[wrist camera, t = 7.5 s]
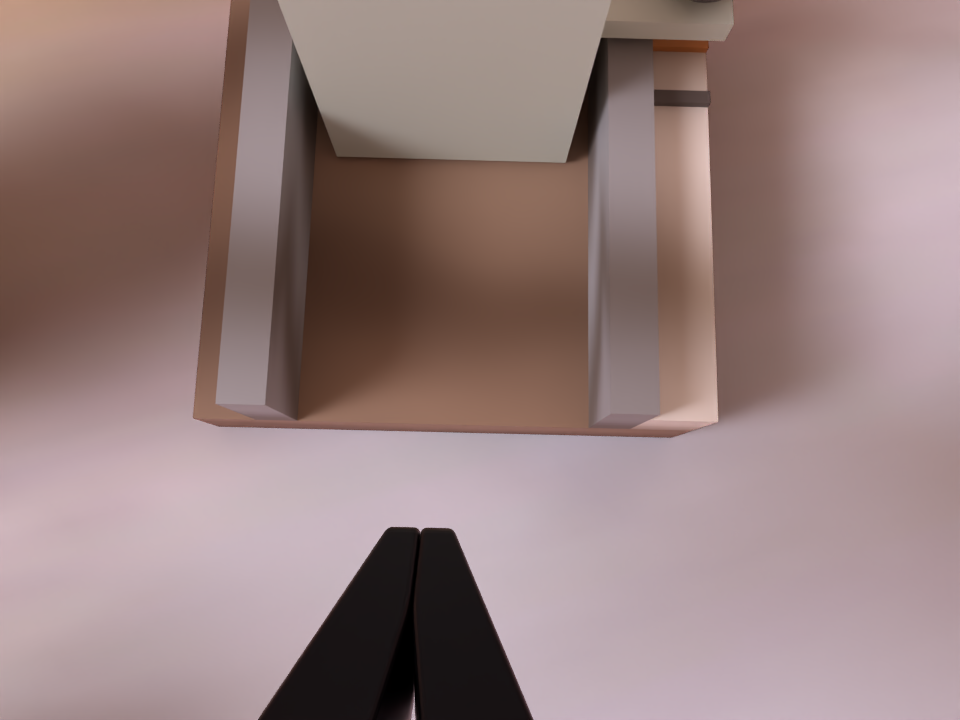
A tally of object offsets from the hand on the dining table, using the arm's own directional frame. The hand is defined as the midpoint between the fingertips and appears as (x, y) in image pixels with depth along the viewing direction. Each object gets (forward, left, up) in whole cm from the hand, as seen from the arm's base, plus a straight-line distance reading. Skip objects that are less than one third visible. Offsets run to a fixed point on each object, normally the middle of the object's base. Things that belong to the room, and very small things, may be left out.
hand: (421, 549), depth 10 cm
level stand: (+7, -9, -10) cm, 16 cm away
